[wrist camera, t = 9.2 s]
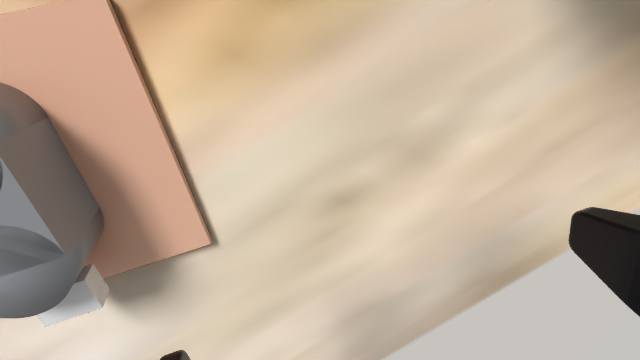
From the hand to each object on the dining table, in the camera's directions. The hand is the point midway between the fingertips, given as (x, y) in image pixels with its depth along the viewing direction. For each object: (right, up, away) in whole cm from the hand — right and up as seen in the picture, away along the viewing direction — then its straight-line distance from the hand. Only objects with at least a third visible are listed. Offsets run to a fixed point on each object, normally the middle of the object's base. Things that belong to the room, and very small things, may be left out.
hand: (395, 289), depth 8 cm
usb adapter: (-14, +2, +8) cm, 16 cm away
